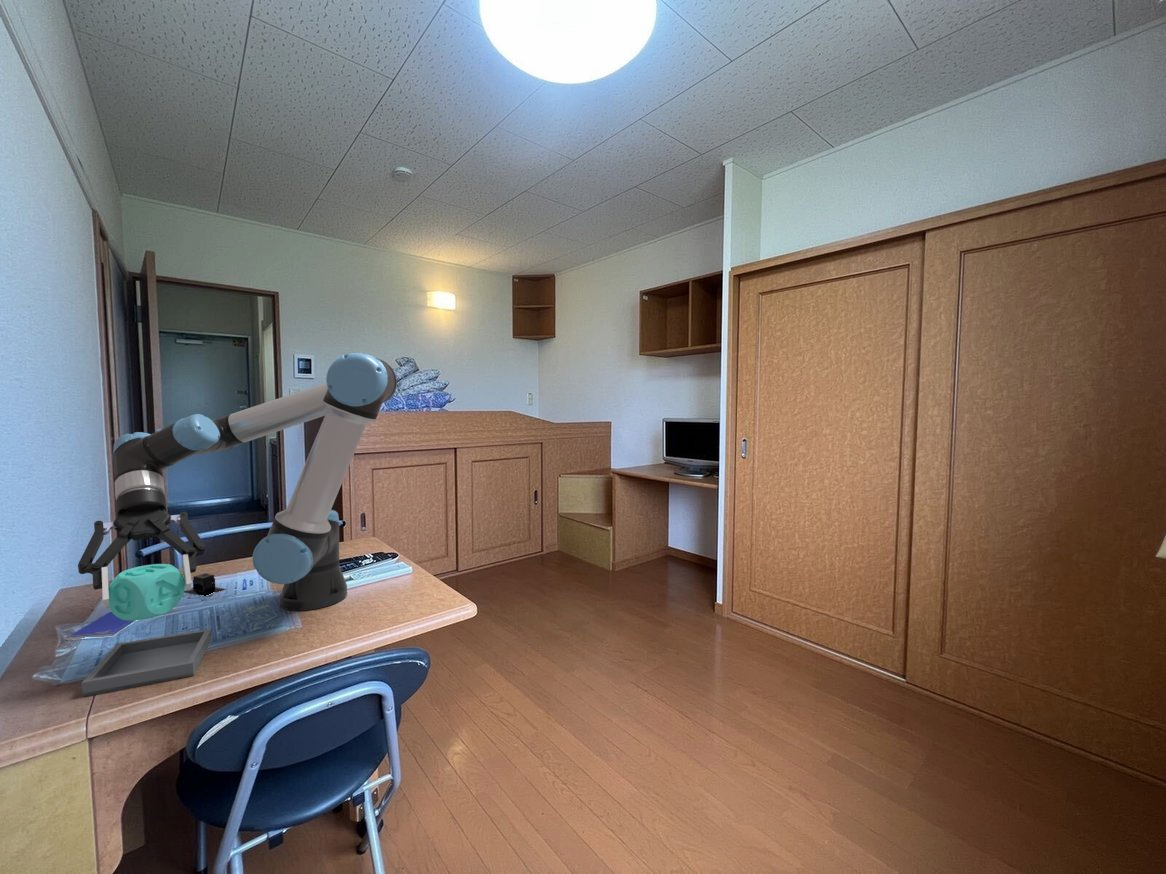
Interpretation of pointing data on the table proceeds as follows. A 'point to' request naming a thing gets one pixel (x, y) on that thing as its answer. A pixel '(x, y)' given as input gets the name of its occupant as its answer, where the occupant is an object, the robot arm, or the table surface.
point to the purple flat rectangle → (101, 627)
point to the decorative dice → (145, 591)
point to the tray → (148, 662)
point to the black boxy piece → (204, 585)
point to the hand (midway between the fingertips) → (149, 594)
